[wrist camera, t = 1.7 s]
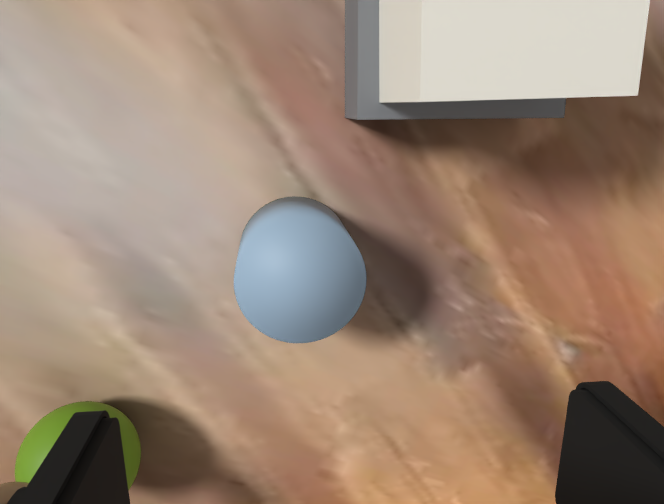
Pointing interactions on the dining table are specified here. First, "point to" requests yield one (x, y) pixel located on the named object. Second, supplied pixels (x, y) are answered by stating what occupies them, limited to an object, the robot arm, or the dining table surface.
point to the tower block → (509, 49)
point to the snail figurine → (48, 433)
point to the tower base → (367, 107)
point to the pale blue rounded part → (298, 271)
